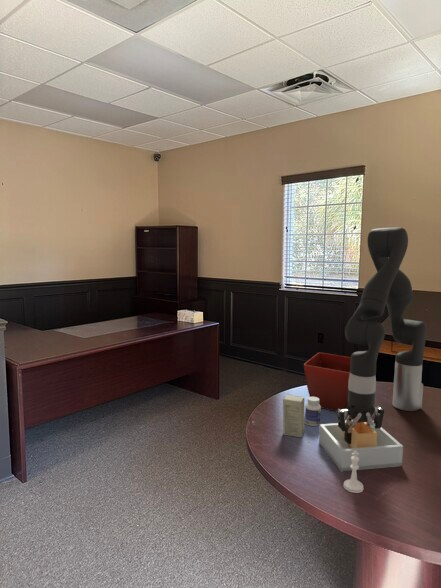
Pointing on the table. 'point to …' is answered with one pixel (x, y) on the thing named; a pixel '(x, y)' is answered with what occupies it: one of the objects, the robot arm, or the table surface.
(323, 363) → the plant pot
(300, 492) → the table surface
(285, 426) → the skincare box
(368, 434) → the small crate
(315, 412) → the pill bottle
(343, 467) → the big crate
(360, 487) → the chess piece
